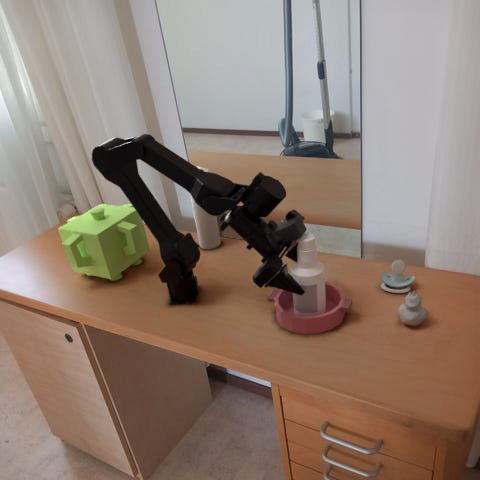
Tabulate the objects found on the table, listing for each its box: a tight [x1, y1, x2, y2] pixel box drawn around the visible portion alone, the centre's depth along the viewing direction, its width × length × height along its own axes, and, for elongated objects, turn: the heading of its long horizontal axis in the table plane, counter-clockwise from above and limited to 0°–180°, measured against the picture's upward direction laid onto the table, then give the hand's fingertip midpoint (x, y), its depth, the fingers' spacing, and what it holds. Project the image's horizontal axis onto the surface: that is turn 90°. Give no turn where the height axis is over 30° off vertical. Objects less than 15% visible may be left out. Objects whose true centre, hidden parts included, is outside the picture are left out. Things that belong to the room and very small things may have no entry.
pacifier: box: [380, 259, 416, 294], centre depth 108 cm, size 7×6×6 cm
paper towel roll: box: [189, 165, 221, 250], centre depth 134 cm, size 7×6×21 cm
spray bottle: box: [290, 233, 326, 316], centre depth 101 cm, size 7×7×18 cm
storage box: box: [57, 203, 151, 282], centre depth 131 cm, size 25×23×17 cm
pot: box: [267, 280, 354, 335], centre depth 105 cm, size 18×15×4 cm
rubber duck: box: [397, 290, 428, 327], centre depth 97 cm, size 5×7×8 cm
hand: (309, 282), depth 101 cm, fingers open, 9 cm apart
